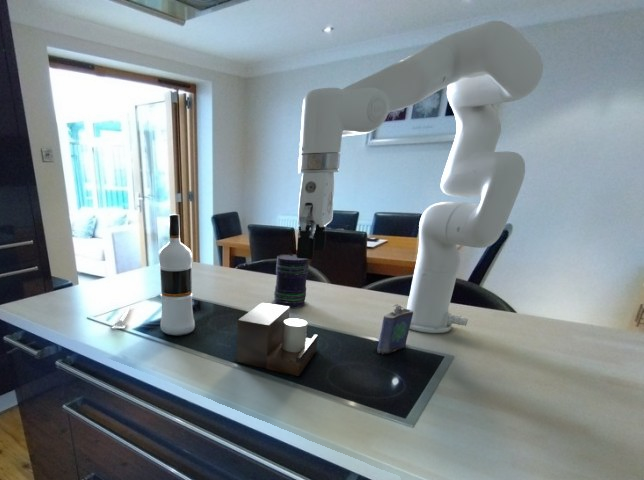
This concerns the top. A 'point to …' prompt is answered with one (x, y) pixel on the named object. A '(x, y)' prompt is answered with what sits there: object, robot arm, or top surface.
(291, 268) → the storage jar
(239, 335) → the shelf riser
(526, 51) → the robot arm
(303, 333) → the white cylinder
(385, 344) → the flask
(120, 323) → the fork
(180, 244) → the vodka
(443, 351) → the top surface
